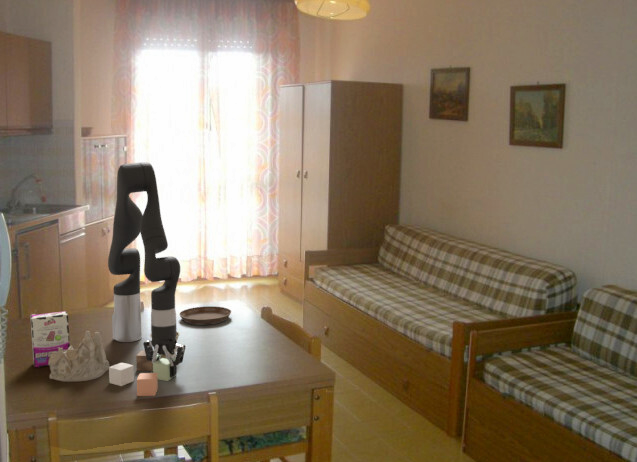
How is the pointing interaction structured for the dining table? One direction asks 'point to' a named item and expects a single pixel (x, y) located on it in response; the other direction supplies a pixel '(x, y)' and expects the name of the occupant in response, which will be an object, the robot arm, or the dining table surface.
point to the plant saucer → (205, 315)
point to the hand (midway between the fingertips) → (164, 375)
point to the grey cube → (121, 374)
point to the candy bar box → (48, 336)
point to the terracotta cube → (147, 384)
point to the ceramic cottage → (80, 360)
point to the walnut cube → (143, 362)
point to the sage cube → (162, 369)
